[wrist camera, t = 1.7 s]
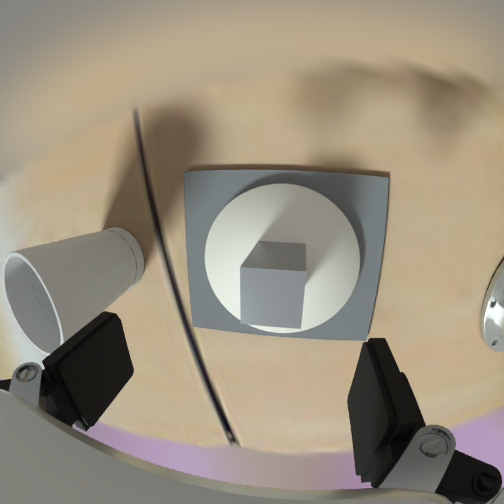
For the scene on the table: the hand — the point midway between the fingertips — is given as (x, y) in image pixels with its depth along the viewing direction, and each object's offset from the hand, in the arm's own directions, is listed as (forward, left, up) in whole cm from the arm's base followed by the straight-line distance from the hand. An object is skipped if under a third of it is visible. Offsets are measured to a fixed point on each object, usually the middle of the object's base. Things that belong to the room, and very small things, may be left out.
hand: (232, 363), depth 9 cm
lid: (-1, 0, -13) cm, 13 cm away
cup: (+15, +1, -14) cm, 20 cm away
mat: (-1, 0, -13) cm, 13 cm away
